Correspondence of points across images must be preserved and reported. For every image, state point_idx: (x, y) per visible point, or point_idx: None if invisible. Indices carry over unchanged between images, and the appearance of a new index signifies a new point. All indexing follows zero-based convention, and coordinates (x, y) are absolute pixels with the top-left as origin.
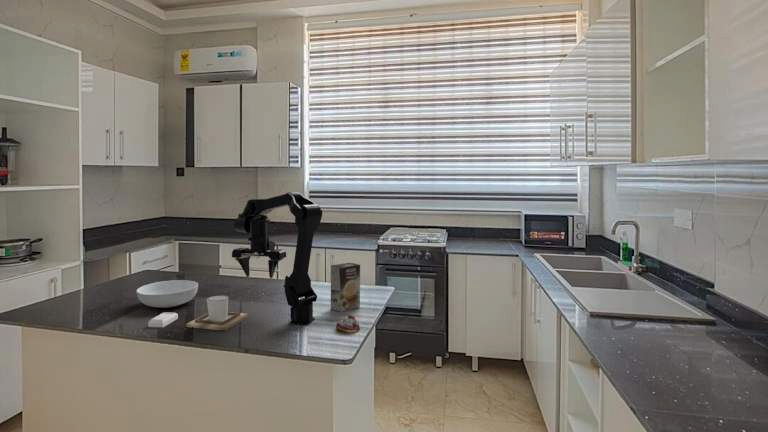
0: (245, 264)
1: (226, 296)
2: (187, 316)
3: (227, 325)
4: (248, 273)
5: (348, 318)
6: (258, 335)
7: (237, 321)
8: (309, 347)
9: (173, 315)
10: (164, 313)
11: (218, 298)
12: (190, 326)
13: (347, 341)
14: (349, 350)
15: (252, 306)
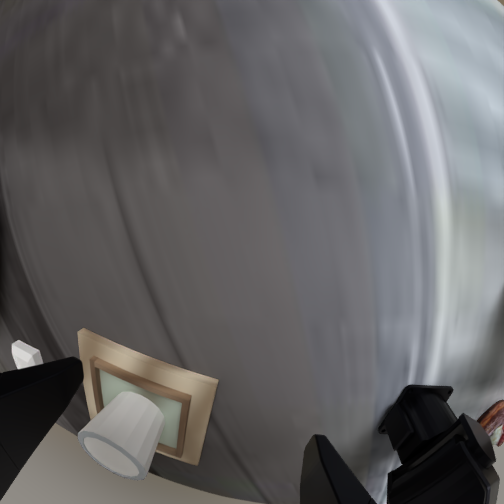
0: (14, 449)
1: (126, 455)
2: (45, 340)
3: (197, 458)
4: (67, 383)
5: (495, 444)
6: (297, 482)
7: (206, 430)
8: None
9: None
10: (14, 352)
11: (114, 460)
12: None
13: None
14: None
15: (181, 237)
